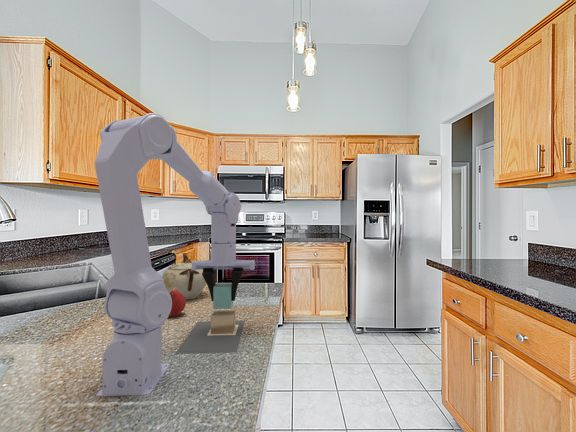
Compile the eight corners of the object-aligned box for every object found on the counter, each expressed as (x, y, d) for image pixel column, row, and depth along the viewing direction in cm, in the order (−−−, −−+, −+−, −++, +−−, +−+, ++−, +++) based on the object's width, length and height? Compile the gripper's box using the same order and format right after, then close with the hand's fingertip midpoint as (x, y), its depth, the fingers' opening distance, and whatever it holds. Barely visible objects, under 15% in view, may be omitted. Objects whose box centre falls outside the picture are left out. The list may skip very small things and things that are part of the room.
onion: (177, 322, 78) (178, 291, 78) (158, 320, 79) (158, 290, 79) (189, 314, 84) (189, 286, 84) (170, 313, 85) (171, 285, 85)
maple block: (232, 333, 69) (232, 316, 69) (210, 334, 69) (210, 316, 69) (235, 325, 74) (235, 309, 74) (214, 326, 74) (214, 309, 74)
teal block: (230, 308, 69) (230, 286, 69) (213, 308, 69) (213, 287, 69) (233, 303, 73) (233, 283, 73) (216, 303, 73) (216, 283, 73)
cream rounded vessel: (158, 293, 107) (158, 251, 107) (200, 288, 114) (201, 249, 114) (165, 308, 90) (165, 258, 90) (215, 301, 97) (215, 255, 97)
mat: (236, 354, 59) (236, 352, 59) (174, 356, 59) (174, 353, 59) (244, 322, 77) (244, 320, 77) (197, 323, 77) (197, 321, 77)
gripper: (255, 241, 76) (255, 295, 76) (196, 241, 75) (196, 295, 75) (253, 243, 69) (253, 303, 69) (189, 243, 68) (189, 304, 68)
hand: (223, 299), depth 71 cm, fingers closed on teal block, 4 cm apart
